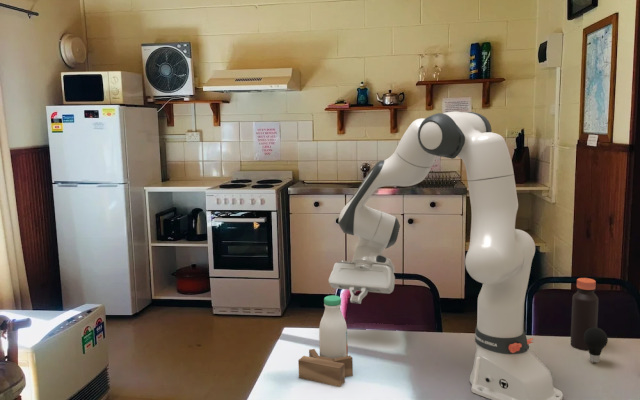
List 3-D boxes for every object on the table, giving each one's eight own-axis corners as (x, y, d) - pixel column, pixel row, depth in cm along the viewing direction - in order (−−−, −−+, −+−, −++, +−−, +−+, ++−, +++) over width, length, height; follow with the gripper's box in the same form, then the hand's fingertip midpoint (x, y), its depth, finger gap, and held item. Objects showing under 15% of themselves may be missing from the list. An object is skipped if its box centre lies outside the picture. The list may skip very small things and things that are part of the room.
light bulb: (609, 362, 149) (611, 327, 147) (602, 369, 145) (604, 334, 143) (586, 356, 153) (588, 322, 151) (579, 363, 149) (581, 328, 147)
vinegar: (568, 347, 159) (571, 281, 156) (572, 339, 164) (574, 275, 161) (594, 352, 155) (598, 285, 152) (597, 344, 161) (600, 278, 158)
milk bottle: (345, 374, 145) (344, 302, 143) (317, 372, 147) (315, 301, 144) (349, 362, 153) (348, 293, 150) (323, 360, 154) (321, 292, 152)
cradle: (311, 365, 151) (310, 348, 151) (354, 373, 146) (353, 356, 145) (297, 377, 144) (296, 359, 144) (341, 387, 139) (341, 368, 138)
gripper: (332, 254, 170) (319, 294, 163) (394, 259, 161) (384, 300, 153) (339, 265, 174) (327, 303, 167) (400, 269, 165) (390, 311, 158)
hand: (355, 302), depth 160 cm, fingers closed
